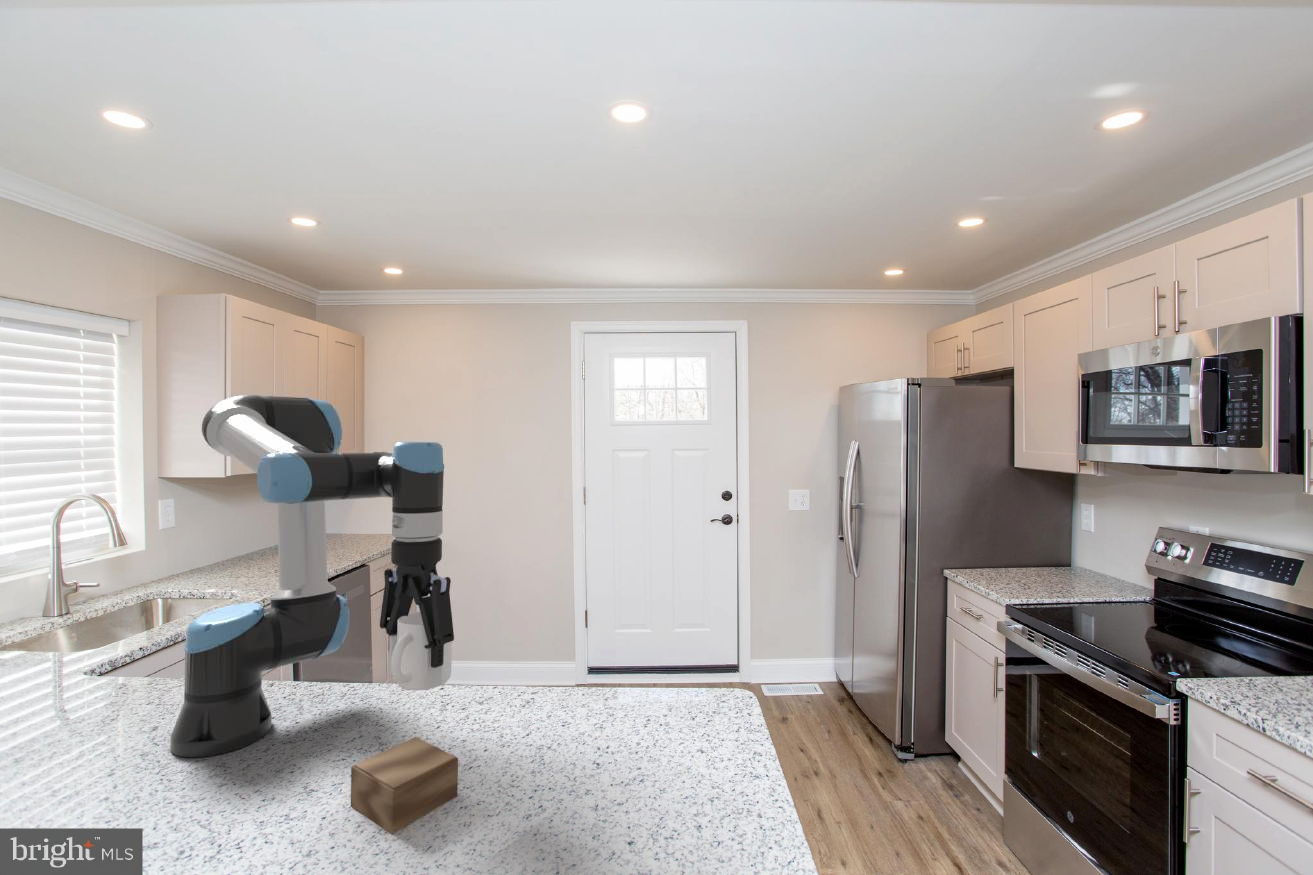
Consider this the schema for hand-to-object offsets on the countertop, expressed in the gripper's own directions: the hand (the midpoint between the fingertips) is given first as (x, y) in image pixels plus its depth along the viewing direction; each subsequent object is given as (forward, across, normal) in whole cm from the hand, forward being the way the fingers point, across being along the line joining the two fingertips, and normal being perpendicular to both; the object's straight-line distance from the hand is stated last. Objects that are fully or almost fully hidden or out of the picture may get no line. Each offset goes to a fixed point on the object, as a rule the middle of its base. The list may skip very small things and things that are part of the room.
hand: (414, 679), depth 93 cm
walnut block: (+18, +1, -2) cm, 18 cm away
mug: (+1, +1, 0) cm, 1 cm away
